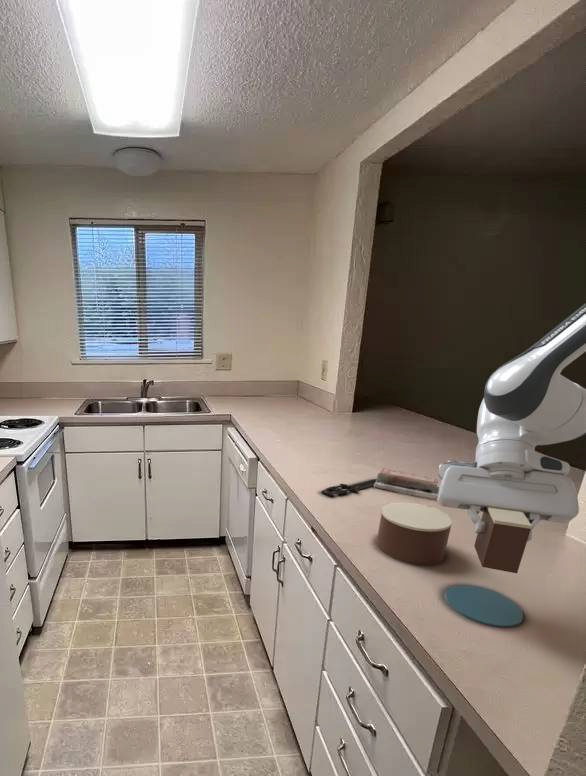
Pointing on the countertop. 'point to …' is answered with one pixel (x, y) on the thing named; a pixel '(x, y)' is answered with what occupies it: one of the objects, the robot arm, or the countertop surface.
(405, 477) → the packaged product
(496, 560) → the cake slice
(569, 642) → the countertop surface
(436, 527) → the cake
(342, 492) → the knife
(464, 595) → the plate
